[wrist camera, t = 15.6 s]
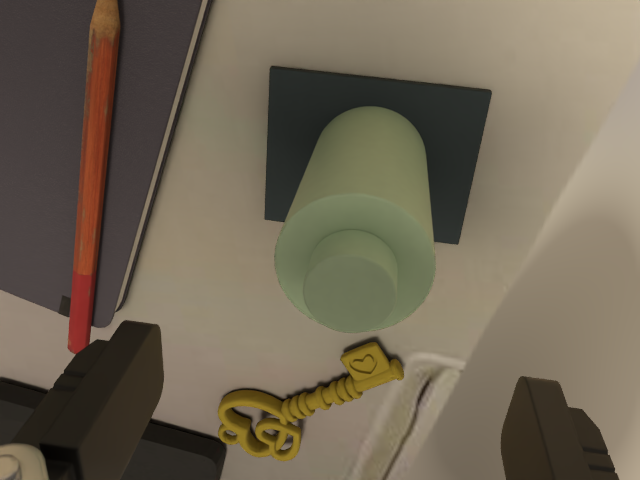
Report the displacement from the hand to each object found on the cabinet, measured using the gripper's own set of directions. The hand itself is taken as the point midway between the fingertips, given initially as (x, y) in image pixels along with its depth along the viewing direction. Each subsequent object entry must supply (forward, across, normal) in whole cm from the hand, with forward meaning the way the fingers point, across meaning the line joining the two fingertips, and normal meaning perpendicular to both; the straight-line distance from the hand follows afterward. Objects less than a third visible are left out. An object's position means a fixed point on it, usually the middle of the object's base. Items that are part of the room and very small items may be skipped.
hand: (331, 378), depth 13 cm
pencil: (+12, +11, +2) cm, 16 cm away
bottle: (+14, 0, 0) cm, 14 cm away
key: (+14, +3, +13) cm, 19 cm away
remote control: (+14, +14, +20) cm, 28 cm away
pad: (+14, 0, 0) cm, 14 cm away
